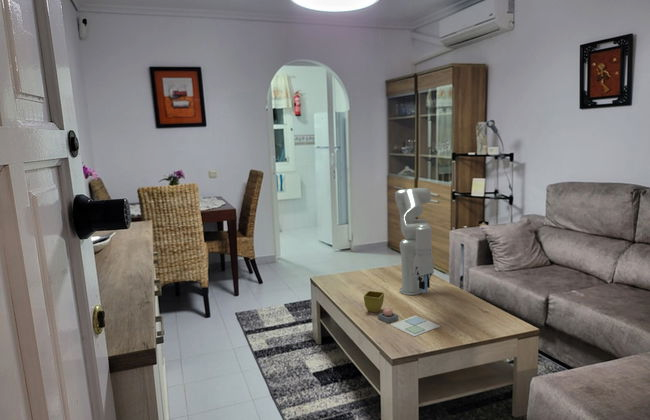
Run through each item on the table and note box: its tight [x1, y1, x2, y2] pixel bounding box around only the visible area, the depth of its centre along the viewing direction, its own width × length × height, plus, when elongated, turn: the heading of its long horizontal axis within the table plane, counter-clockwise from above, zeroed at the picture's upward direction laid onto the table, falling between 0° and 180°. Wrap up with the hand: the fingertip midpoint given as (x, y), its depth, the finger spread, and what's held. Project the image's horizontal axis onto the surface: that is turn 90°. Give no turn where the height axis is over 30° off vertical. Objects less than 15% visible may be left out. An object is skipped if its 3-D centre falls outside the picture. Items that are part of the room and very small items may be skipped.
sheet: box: [389, 315, 441, 338], centre depth 209 cm, size 17×16×1 cm
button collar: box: [377, 312, 399, 324], centre depth 218 cm, size 7×7×2 cm
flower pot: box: [363, 290, 385, 313], centre depth 230 cm, size 9×9×9 cm
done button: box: [383, 307, 394, 317], centre depth 218 cm, size 4×4×3 cm
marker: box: [421, 275, 428, 294], centre depth 215 cm, size 3×3×10 cm
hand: (424, 287), depth 216 cm, fingers closed on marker, 2 cm apart
